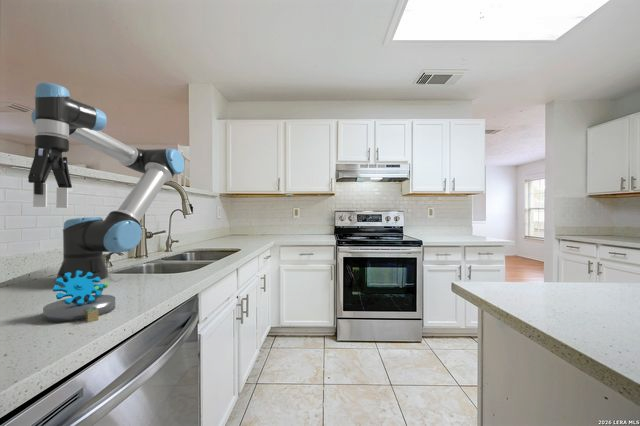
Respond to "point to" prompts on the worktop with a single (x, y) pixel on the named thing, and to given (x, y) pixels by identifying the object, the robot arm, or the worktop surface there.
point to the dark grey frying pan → (78, 309)
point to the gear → (79, 287)
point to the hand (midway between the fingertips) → (52, 207)
